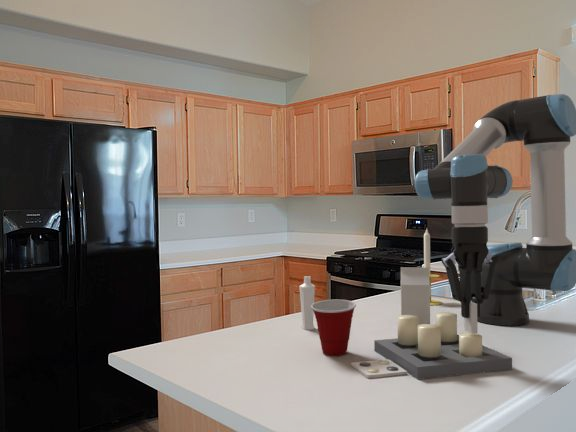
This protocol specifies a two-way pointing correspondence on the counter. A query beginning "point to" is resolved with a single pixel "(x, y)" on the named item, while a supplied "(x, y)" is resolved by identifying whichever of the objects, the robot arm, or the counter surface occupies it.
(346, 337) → the plastic cup
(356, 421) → the counter surface
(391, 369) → the card
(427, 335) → the cream domed cylinder
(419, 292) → the milk carton
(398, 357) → the board
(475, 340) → the cream rounded cylinder
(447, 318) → the cream rounded cylinder
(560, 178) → the robot arm
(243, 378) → the counter surface
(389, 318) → the counter surface
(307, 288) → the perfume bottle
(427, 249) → the candle
